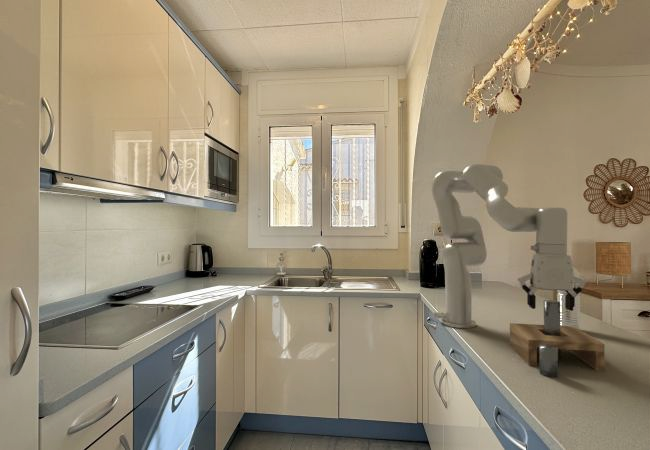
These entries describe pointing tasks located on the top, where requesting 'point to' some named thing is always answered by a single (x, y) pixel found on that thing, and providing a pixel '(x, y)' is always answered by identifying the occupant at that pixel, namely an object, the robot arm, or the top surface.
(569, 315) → the water bottle
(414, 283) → the top surface
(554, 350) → the short pin
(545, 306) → the long pin
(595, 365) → the bridge
